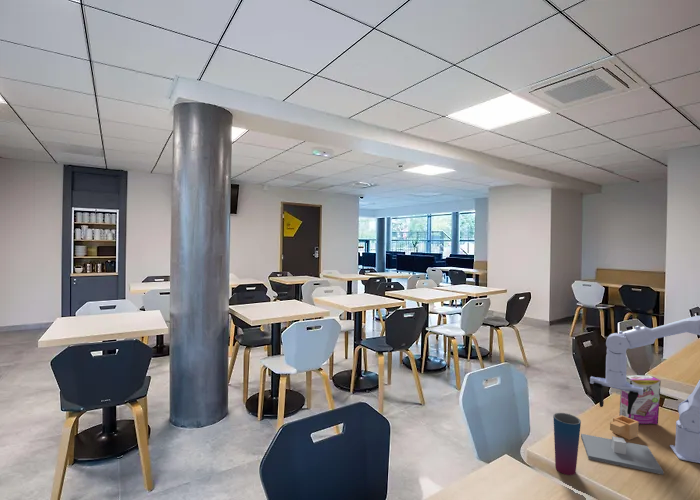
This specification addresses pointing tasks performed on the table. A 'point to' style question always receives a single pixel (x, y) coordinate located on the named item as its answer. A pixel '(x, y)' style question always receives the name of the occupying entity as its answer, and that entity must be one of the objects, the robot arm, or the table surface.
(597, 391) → the robot arm
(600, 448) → the duct board
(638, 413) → the candy bar box
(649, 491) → the table surface
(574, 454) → the cup
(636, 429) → the tan square tube
